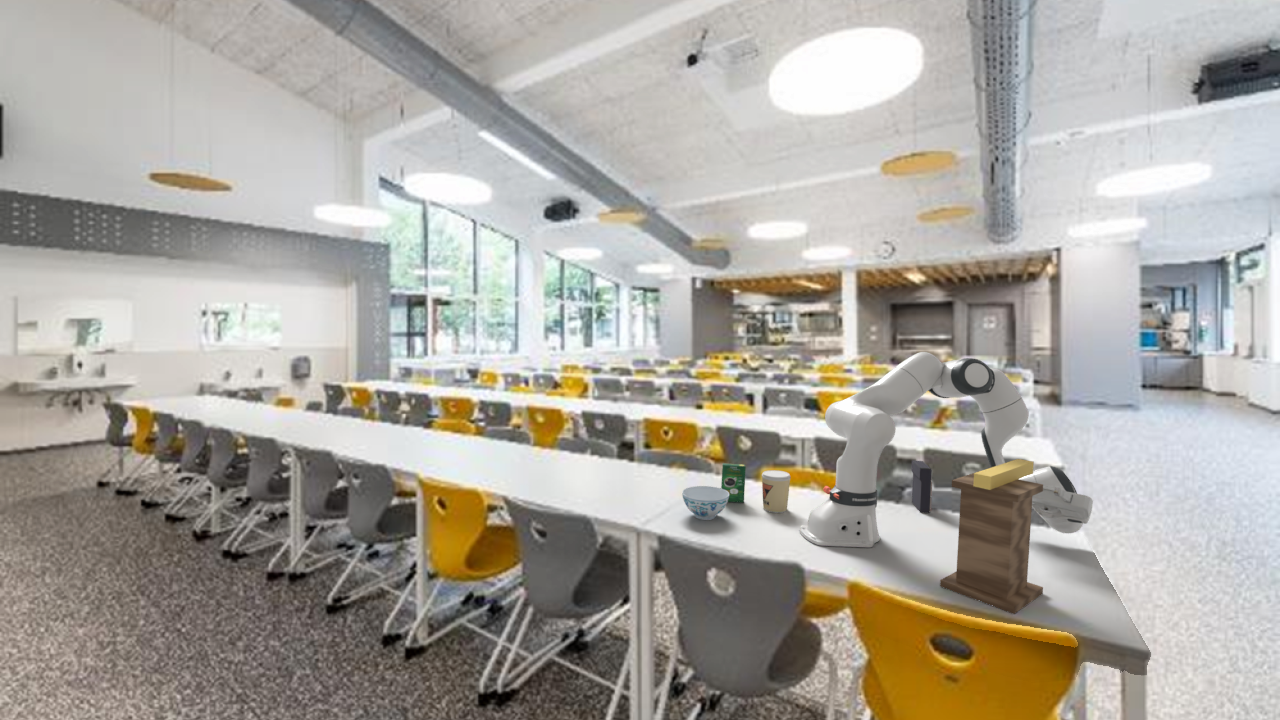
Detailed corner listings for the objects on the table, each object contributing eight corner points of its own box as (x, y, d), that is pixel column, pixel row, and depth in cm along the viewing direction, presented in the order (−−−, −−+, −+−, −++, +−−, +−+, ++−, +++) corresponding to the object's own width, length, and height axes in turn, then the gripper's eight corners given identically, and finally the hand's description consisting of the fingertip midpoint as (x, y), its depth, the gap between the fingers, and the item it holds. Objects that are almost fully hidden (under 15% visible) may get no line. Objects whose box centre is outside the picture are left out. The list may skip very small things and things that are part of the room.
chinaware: (702, 505, 198) (703, 483, 197) (738, 517, 187) (738, 493, 186) (671, 515, 187) (672, 492, 187) (707, 528, 177) (708, 503, 176)
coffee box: (744, 500, 204) (745, 463, 203) (744, 503, 201) (745, 465, 200) (720, 499, 204) (721, 462, 203) (721, 502, 201) (722, 464, 200)
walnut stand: (1014, 614, 127) (1021, 497, 125) (940, 586, 140) (945, 479, 138) (1042, 593, 137) (1049, 484, 135) (970, 569, 149) (976, 469, 147)
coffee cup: (757, 504, 199) (758, 470, 198) (784, 504, 200) (785, 469, 199) (765, 513, 190) (766, 477, 189) (793, 513, 191) (794, 477, 190)
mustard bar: (989, 489, 130) (990, 476, 130) (973, 486, 133) (974, 473, 133) (1032, 473, 144) (1033, 461, 144) (1017, 470, 147) (1017, 458, 147)
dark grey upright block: (932, 513, 192) (934, 468, 191) (918, 512, 193) (920, 468, 192) (922, 503, 203) (925, 460, 202) (909, 502, 204) (911, 460, 203)
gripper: (1012, 484, 168) (996, 466, 160) (1100, 502, 151) (1086, 484, 144) (1007, 504, 166) (989, 487, 159) (1094, 525, 150) (1080, 508, 142)
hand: (1036, 486), depth 151 cm, fingers open, 8 cm apart
